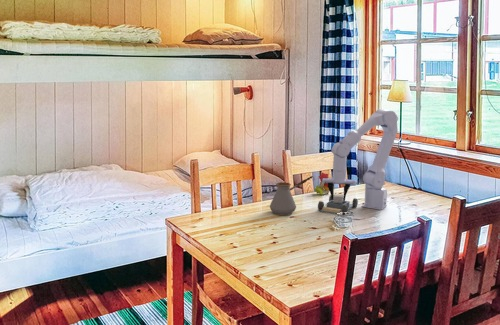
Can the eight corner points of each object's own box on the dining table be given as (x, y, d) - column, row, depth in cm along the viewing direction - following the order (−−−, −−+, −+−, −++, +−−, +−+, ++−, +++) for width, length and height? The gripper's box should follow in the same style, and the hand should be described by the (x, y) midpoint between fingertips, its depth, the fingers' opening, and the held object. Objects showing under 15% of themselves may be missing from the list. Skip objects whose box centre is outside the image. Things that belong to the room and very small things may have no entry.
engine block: (343, 205, 228) (343, 194, 227) (342, 207, 224) (342, 196, 223) (334, 205, 229) (334, 194, 228) (333, 207, 225) (333, 196, 224)
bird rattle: (323, 196, 257) (309, 190, 253) (331, 175, 257) (318, 170, 253) (330, 199, 252) (316, 193, 247) (338, 178, 252) (325, 172, 247)
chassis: (332, 202, 237) (332, 194, 236) (358, 206, 231) (358, 197, 230) (317, 211, 222) (317, 202, 221) (344, 215, 216) (344, 206, 215)
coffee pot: (278, 218, 212) (278, 183, 209) (264, 211, 222) (265, 177, 219) (320, 211, 221) (321, 178, 219) (305, 205, 231) (306, 173, 229)
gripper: (356, 169, 225) (355, 198, 227) (324, 167, 229) (323, 196, 231) (355, 172, 218) (354, 202, 221) (322, 170, 222) (321, 200, 225)
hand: (338, 199), depth 226 cm, fingers open, 4 cm apart
